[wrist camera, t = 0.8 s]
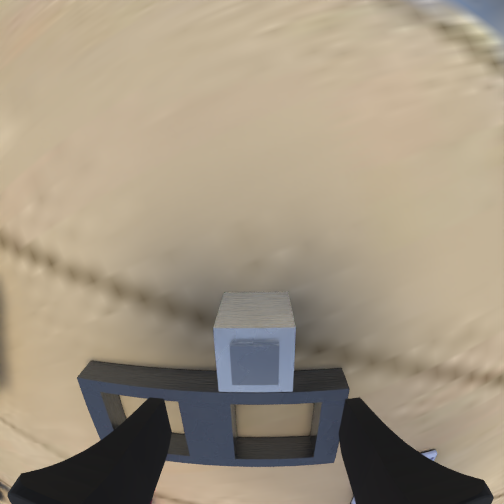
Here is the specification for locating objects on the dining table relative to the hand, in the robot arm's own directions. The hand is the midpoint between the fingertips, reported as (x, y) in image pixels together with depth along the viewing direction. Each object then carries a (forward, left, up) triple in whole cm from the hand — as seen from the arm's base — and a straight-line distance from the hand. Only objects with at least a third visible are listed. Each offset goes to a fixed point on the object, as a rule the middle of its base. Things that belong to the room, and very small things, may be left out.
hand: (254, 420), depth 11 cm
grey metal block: (0, 0, -10) cm, 10 cm away
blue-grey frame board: (-8, +4, -9) cm, 13 cm away
